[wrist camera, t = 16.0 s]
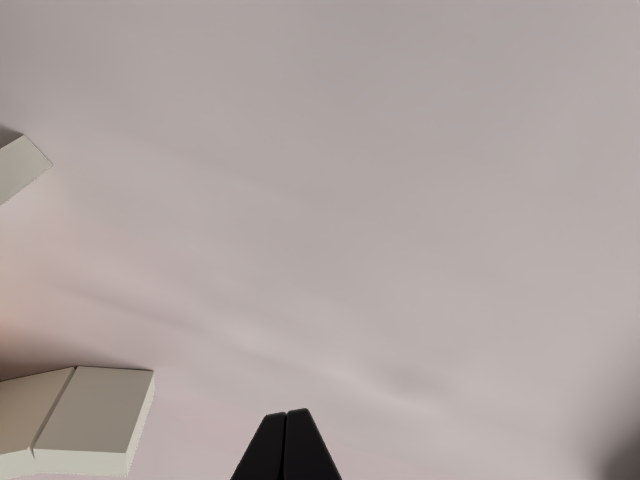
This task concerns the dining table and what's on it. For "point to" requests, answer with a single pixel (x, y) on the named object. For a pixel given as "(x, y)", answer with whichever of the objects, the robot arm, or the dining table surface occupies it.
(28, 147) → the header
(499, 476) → the dining table surface
